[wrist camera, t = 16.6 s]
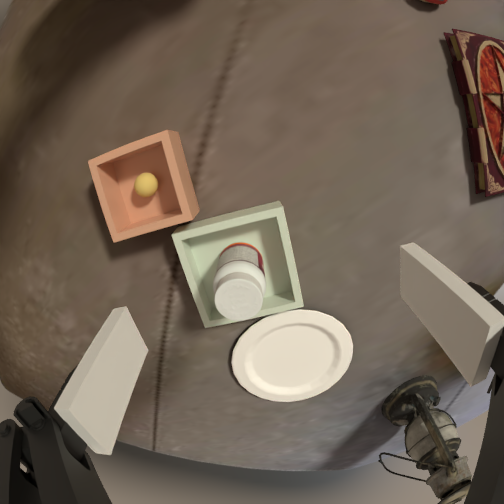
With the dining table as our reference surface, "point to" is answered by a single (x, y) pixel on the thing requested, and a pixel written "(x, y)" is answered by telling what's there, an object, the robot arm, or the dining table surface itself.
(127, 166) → the orange open box
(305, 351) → the plate
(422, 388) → the lantern
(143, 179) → the yellow ball
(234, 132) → the dining table surface
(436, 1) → the toy boat
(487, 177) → the book
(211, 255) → the green tray
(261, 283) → the pill bottle
